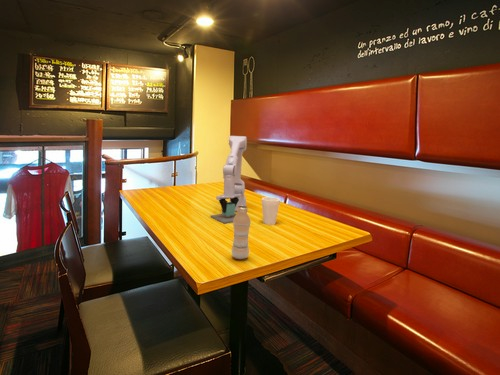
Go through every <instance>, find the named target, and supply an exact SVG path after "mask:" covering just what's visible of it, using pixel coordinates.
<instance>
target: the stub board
mask: <svg viewBox="0 0 500 375" xmlns="http://www.w3.org/2000/svg"><path fill="white" fill-rule="evenodd" d="M236 214H237V213H235V215H230V216H226V215H223V214H222V213H219V214H212V215H210V216H209V217H210V218H211V219H213V220H216V221H217V222H219V223H220V224H223V225H226V224H233V219H234V217H235V216H236Z"/></svg>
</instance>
